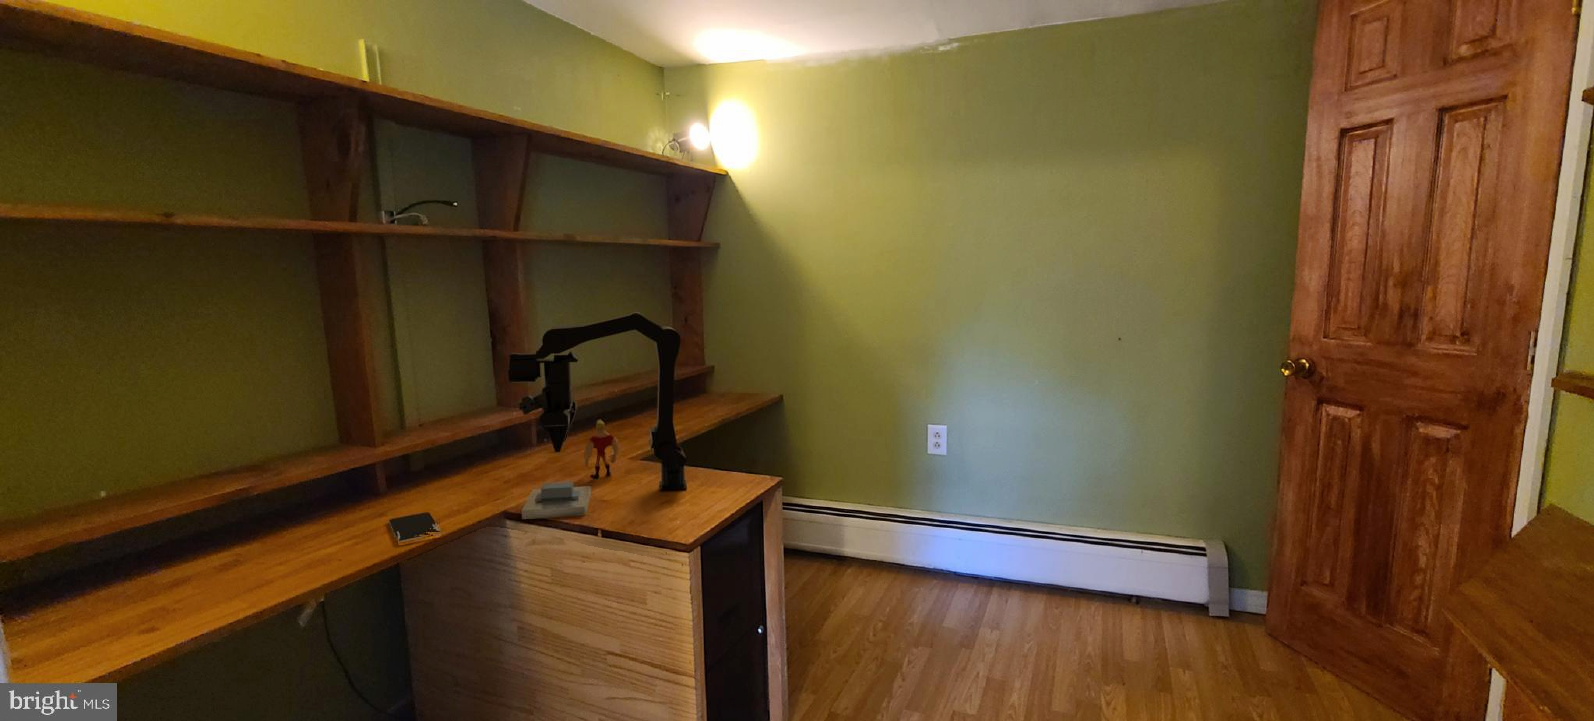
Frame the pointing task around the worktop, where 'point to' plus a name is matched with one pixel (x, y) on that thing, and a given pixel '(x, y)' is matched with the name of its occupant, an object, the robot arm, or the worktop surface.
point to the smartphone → (413, 526)
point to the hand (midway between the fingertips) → (560, 446)
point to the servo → (557, 492)
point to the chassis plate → (556, 505)
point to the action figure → (601, 448)
